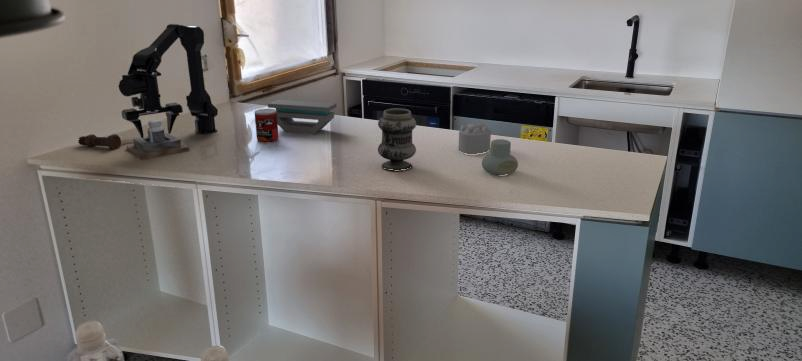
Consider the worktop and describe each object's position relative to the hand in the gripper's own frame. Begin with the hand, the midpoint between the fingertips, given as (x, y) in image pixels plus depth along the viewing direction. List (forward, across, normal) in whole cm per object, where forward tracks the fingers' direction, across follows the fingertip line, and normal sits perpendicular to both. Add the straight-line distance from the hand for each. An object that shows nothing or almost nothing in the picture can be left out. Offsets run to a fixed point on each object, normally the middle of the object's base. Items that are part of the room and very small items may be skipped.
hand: (156, 135), depth 207 cm
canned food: (+5, -35, +14) cm, 38 cm away
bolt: (+6, +15, -17) cm, 23 cm away
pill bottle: (+4, 0, 0) cm, 4 cm away
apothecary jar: (+5, -51, +69) cm, 86 cm away
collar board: (+5, 0, 0) cm, 5 cm away
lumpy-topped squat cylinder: (+5, -83, +72) cm, 110 cm away
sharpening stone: (+5, -52, +11) cm, 53 cm away
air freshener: (+5, -71, +94) cm, 118 cm away
